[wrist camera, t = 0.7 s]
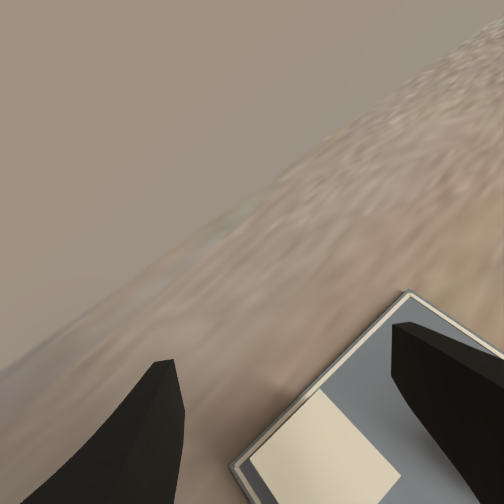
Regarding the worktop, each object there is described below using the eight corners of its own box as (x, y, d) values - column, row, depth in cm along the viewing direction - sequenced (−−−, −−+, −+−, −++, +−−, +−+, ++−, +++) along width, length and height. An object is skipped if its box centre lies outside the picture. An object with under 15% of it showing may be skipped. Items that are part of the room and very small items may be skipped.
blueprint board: (630, 442, 19) (694, 431, 16) (419, 772, 15) (442, 861, 11) (407, 291, 28) (416, 262, 25) (230, 466, 23) (209, 461, 20)
